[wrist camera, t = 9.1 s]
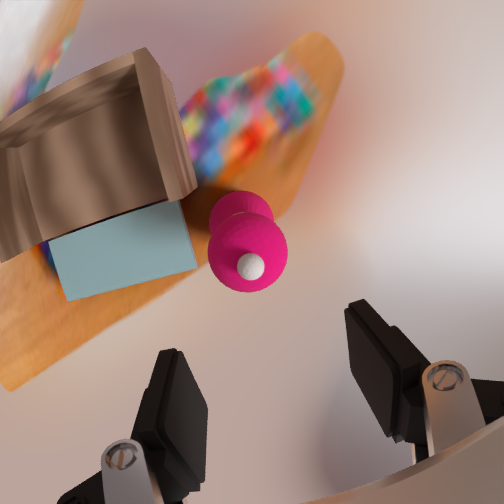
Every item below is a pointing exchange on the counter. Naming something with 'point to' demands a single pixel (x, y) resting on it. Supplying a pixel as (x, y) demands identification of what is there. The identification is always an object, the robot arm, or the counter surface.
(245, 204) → the pepper mill
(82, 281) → the panel
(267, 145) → the counter surface
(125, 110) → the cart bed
